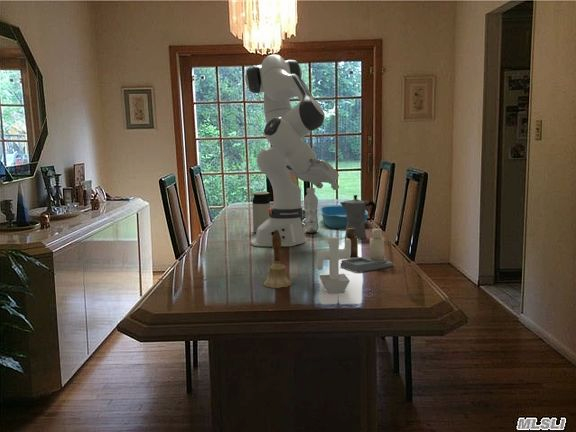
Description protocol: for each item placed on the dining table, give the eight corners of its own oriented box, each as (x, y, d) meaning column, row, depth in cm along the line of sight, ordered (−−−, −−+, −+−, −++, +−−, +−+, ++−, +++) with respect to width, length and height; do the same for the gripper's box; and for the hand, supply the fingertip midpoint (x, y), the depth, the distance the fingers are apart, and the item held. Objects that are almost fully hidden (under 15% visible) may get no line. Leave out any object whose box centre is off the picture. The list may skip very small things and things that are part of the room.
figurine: (315, 287, 145) (314, 235, 143) (348, 286, 146) (347, 234, 144) (319, 295, 138) (318, 240, 136) (354, 293, 139) (353, 238, 137)
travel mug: (268, 232, 234) (267, 193, 231) (251, 232, 235) (250, 193, 233) (272, 229, 242) (271, 191, 239) (255, 229, 243) (254, 191, 240)
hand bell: (295, 286, 147) (294, 231, 145) (267, 289, 145) (265, 233, 142) (287, 279, 155) (286, 227, 153) (260, 282, 153) (258, 229, 150)
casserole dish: (371, 229, 238) (371, 214, 237) (323, 230, 238) (323, 215, 237) (361, 217, 274) (361, 204, 273) (319, 218, 275) (319, 205, 274)
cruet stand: (357, 272, 161) (357, 235, 159) (340, 266, 169) (340, 231, 167) (393, 266, 168) (393, 230, 166) (375, 260, 176) (375, 226, 174)
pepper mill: (346, 258, 181) (345, 229, 180) (343, 255, 185) (343, 227, 184) (359, 257, 181) (358, 229, 180) (356, 254, 186) (356, 227, 184)
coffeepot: (337, 238, 217) (337, 195, 215) (343, 234, 226) (343, 193, 223) (373, 240, 211) (373, 196, 209) (378, 236, 220) (378, 194, 218)
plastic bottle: (320, 231, 234) (319, 187, 231) (316, 234, 228) (315, 189, 225) (306, 231, 236) (306, 187, 233) (302, 233, 230) (301, 188, 227)
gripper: (326, 152, 159) (352, 181, 165) (293, 152, 177) (317, 179, 183) (314, 167, 158) (341, 196, 164) (282, 166, 175) (307, 193, 181)
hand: (328, 187), depth 174 cm, fingers open, 8 cm apart
